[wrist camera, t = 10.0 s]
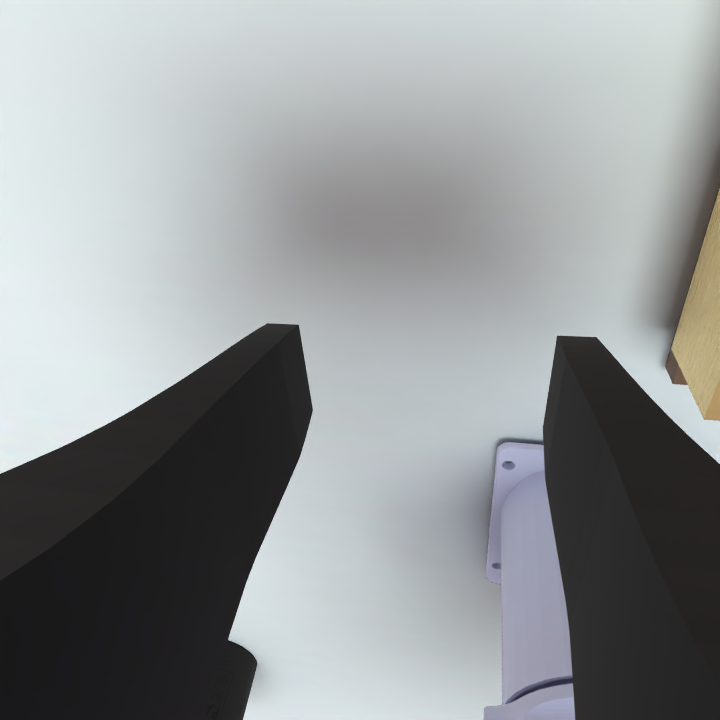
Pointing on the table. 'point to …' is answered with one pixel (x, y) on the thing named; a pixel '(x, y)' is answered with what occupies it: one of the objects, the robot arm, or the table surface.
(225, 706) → the drinking cup
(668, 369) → the board
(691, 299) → the tan slotted block
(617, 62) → the table surface
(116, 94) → the table surface
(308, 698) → the table surface
